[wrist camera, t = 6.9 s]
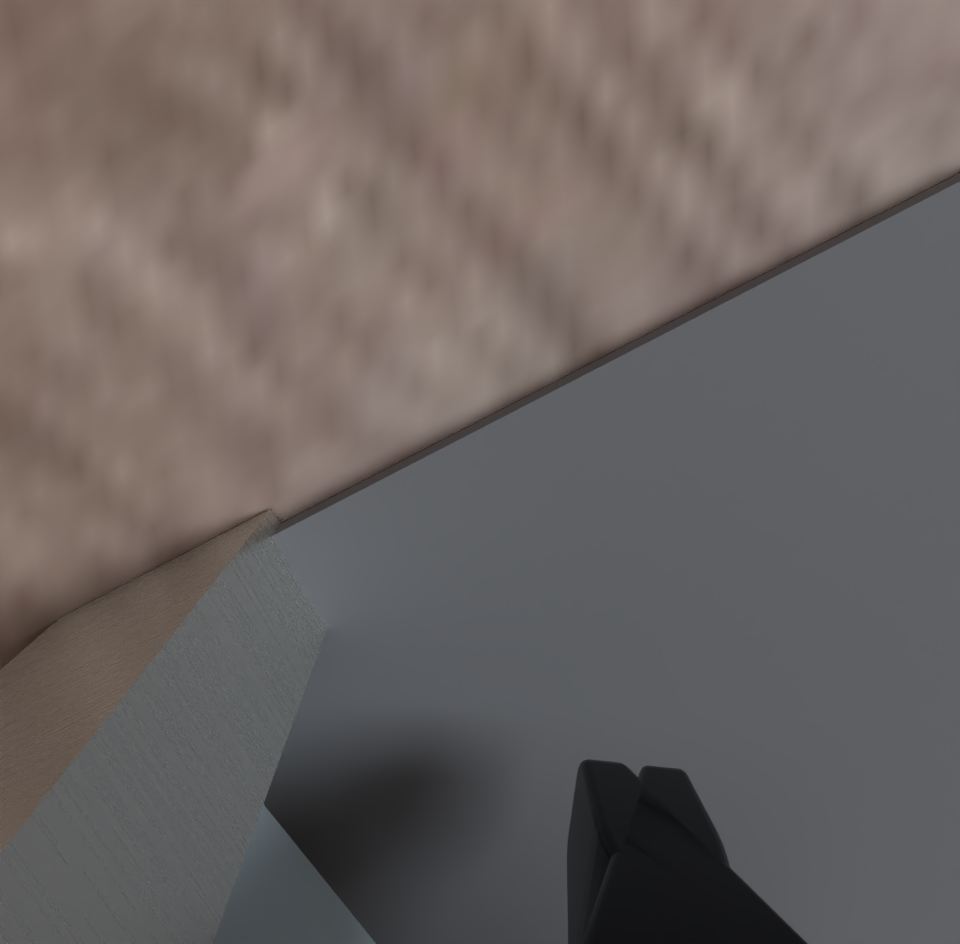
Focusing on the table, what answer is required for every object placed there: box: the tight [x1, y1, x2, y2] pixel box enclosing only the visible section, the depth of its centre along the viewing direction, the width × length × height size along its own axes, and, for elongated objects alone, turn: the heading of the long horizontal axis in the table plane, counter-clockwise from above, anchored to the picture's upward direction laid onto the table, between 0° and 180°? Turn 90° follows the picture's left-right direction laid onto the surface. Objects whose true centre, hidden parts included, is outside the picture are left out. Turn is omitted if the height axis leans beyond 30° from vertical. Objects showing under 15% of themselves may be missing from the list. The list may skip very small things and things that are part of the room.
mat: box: [264, 173, 960, 944], centre depth 11 cm, size 13×12×1 cm
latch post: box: [0, 508, 327, 944], centre depth 7 cm, size 2×3×8 cm, turn 117°
